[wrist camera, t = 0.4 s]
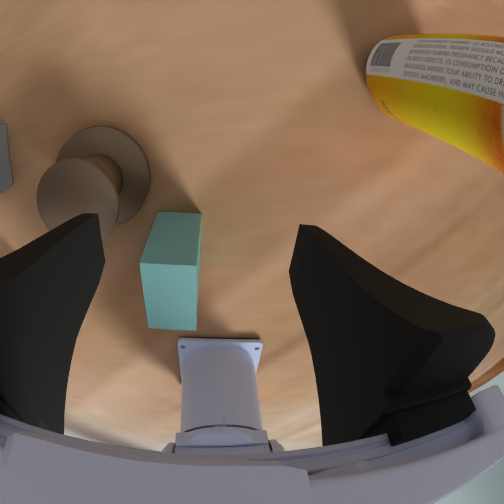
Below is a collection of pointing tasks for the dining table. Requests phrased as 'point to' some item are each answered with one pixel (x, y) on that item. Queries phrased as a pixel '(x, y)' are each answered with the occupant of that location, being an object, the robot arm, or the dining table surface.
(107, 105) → the dining table surface
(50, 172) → the bobbin
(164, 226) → the block
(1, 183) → the grey bricks
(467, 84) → the beer can
